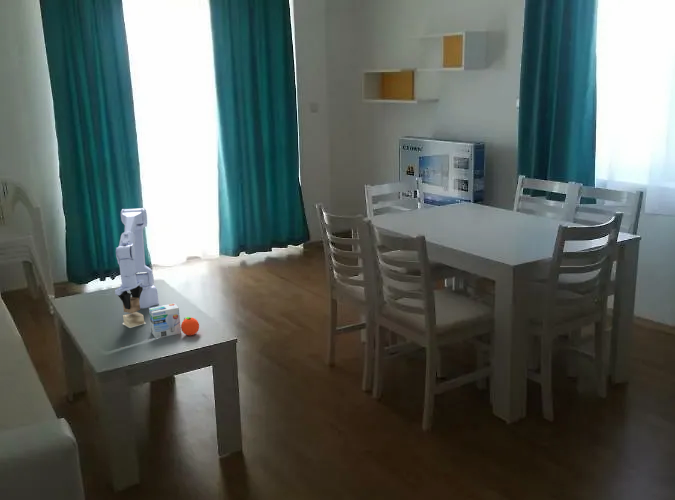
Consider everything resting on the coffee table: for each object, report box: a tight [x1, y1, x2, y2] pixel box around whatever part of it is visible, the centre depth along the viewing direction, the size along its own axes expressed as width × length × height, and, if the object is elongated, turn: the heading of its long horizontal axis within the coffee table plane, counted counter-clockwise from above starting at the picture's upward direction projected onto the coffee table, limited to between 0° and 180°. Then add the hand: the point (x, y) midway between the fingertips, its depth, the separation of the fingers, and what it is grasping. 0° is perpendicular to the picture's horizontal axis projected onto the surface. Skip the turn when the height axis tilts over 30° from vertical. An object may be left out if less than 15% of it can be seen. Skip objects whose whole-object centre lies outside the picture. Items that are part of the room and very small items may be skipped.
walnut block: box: [122, 296, 141, 314], centre depth 267 cm, size 4×4×5 cm
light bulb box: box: [148, 302, 182, 339], centre depth 258 cm, size 11×7×11 cm, turn 117°
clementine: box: [180, 316, 200, 336], centre depth 257 cm, size 8×7×7 cm
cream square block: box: [122, 311, 145, 328], centre depth 269 cm, size 6×6×4 cm
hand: (132, 306), depth 268 cm, fingers closed on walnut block, 4 cm apart
